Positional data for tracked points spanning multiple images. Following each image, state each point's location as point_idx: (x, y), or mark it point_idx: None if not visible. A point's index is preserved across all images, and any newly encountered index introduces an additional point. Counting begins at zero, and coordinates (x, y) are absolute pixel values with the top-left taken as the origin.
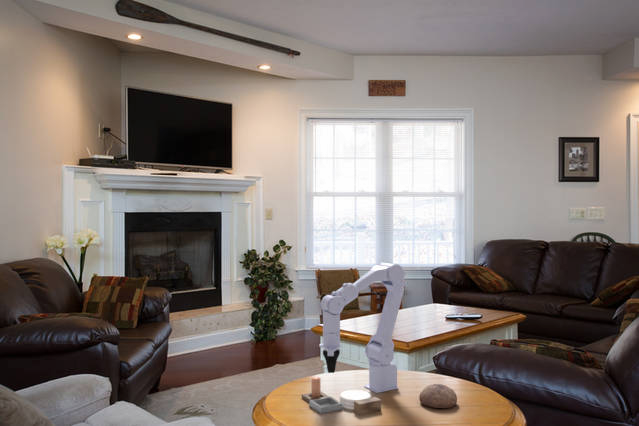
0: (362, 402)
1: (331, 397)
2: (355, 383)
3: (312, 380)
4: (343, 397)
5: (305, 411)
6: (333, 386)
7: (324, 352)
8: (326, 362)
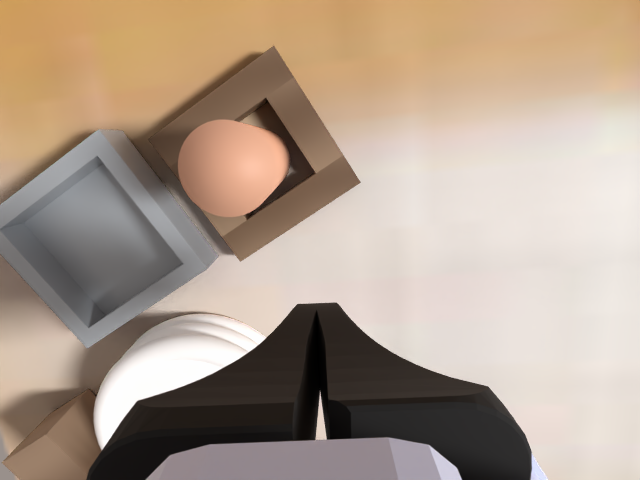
0: (38, 477)
1: (187, 277)
2: (575, 380)
3: (190, 136)
4: (122, 366)
5: (38, 112)
6: (525, 253)
7: (123, 478)
8: (248, 354)
